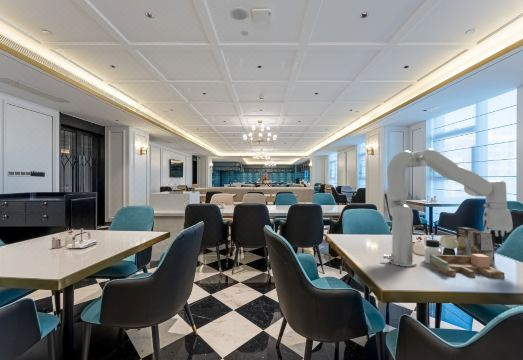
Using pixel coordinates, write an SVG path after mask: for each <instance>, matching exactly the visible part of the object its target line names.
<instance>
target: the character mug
mask: <svg viewBox="0 0 523 360" xmlns="http://www.w3.org/2000/svg"><path fill="white" fill-rule="evenodd" d="M439 244H441V248H443V249H442V255H457V254H456V251H455V249H457V247H458V241H457V235H448V234H441V235H440V238H439Z"/></svg>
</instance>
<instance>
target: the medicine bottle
mask: <svg viewBox="0 0 523 360" xmlns="http://www.w3.org/2000/svg"><path fill="white" fill-rule="evenodd" d="M430 255H442V250H441V248H440V240H437V239H431V238H430V239H426V240H425V247H424V263H425V264H430Z"/></svg>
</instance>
